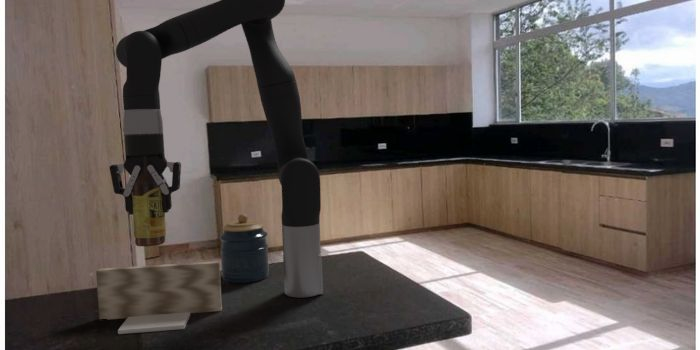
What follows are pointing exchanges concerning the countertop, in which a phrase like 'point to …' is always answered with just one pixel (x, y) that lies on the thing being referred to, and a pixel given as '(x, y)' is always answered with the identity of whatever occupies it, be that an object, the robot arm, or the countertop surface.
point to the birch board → (159, 289)
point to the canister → (244, 251)
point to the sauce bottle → (147, 208)
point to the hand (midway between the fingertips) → (149, 212)
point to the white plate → (154, 323)
